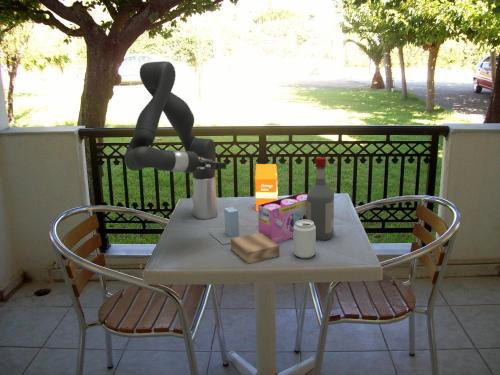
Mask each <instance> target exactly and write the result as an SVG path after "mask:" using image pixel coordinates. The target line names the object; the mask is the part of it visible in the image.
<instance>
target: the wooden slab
mask: <svg viewBox="0 0 500 375" xmlns="http://www.w3.org/2000/svg"><path fill="white" fill-rule="evenodd" d="M230 250H231V251H233V252H234V254H236V255H237V256H238V255H239V256H238V257H240V258H241V259H242V260H243V261H244V260H245V261H244V262H245V263H247V265H249V264H252V263H257V262H261V261H264V259H266V260H268V258H270V259H273V258H272V257H274V258H277V257H276V256H278V257H280V244H278V243H275V242H274V241H272V240H271V239H269V238H268V237H267V236H265V235H264V234H262V233H261V232H260V233H259V232H256V233H253V234H250V235H246V236H241V237H237V238H232V239H231V243H230ZM260 260H261V261H260Z"/></svg>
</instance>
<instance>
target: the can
mask: <svg viewBox="0 0 500 375" xmlns="http://www.w3.org/2000/svg"><path fill="white" fill-rule="evenodd" d="M316 242H317V240H316V227H315V225H314V222H313V221H311V220H298V221H296V222H295V225H294V237H293V255H295V256H296V257H297V256H298V257H297V258H299V257H300V259H310V258H312V257H313V256H314V255H315V254H316V253H317V252H316V251H317V250H316V248H317V246H316Z"/></svg>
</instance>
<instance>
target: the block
mask: <svg viewBox="0 0 500 375" xmlns="http://www.w3.org/2000/svg"><path fill="white" fill-rule="evenodd" d="M223 210H224V212H223V213H224V229H225V233H226V234H227V235H228V236H230V237H235V236H239V226H240V225H239V224H240V223H239V211H238V209H236V208H235V207H233V206H231V207H225V208H224V209H223Z"/></svg>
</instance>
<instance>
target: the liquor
mask: <svg viewBox="0 0 500 375" xmlns="http://www.w3.org/2000/svg"><path fill="white" fill-rule="evenodd" d="M326 160H327V158H326V157H325V156H317V157H315V167H316V168H315V184H314V185H313V186H312V187H311V188H310V190H309V191H308V193H307V220H311V221H313V222H314V225H315V227H316V241H325V242H326V241H329V240H331V239H332V236H333V234H334V228H335V227H334V226H335V225H334V223H335V222H334V220H335V218H334V217H335V213H334V212H335V193H334V191H333V189H331V187H330V186H329V185H328V184H327V182H326V181H327V180H326V167H327V165H326V164H327V161H326Z"/></svg>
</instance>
